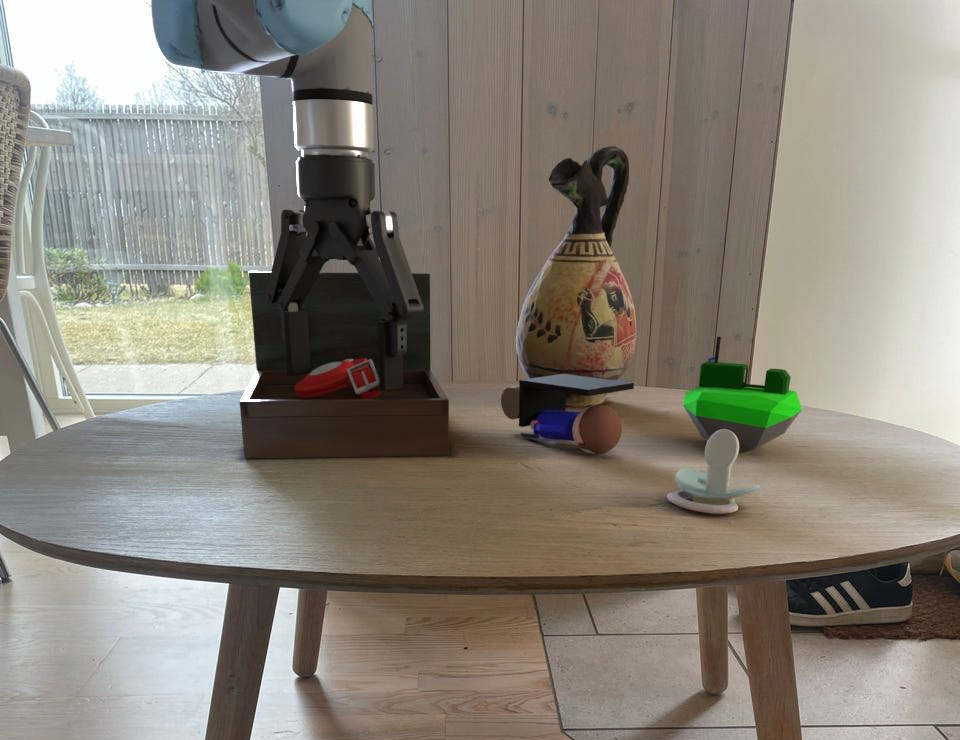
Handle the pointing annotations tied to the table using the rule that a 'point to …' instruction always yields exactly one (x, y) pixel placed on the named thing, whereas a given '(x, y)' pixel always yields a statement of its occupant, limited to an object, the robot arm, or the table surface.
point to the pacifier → (711, 478)
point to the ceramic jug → (582, 285)
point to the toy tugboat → (741, 403)
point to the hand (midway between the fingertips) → (343, 381)
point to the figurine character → (547, 417)
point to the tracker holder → (340, 379)
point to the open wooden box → (343, 414)
